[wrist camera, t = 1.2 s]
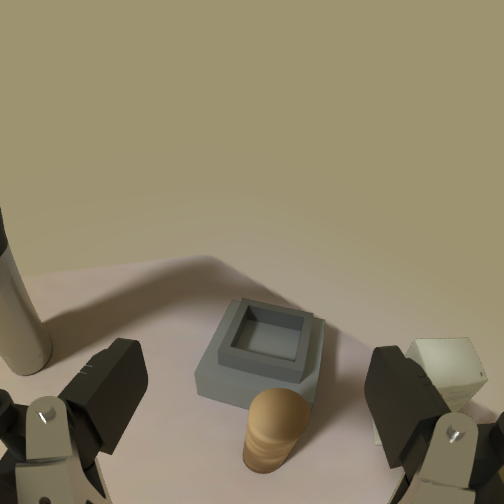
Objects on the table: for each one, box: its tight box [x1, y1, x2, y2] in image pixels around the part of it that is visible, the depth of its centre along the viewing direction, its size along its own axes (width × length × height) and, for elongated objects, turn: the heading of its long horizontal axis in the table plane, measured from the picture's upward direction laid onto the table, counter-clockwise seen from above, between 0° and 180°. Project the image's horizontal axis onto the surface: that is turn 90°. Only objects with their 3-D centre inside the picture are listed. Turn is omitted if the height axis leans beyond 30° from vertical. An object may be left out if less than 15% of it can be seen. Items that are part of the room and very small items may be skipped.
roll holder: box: [194, 298, 325, 410], centre depth 33 cm, size 13×13×8 cm
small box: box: [372, 338, 488, 445], centre depth 23 cm, size 8×6×13 cm
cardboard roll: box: [243, 388, 310, 474], centre depth 21 cm, size 4×4×12 cm
